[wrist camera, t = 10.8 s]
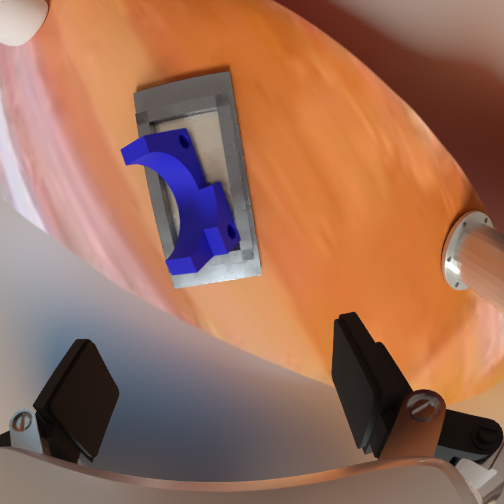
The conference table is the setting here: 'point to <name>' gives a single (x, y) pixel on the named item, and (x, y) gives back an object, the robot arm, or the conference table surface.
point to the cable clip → (187, 199)
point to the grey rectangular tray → (202, 167)
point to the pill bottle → (21, 20)
